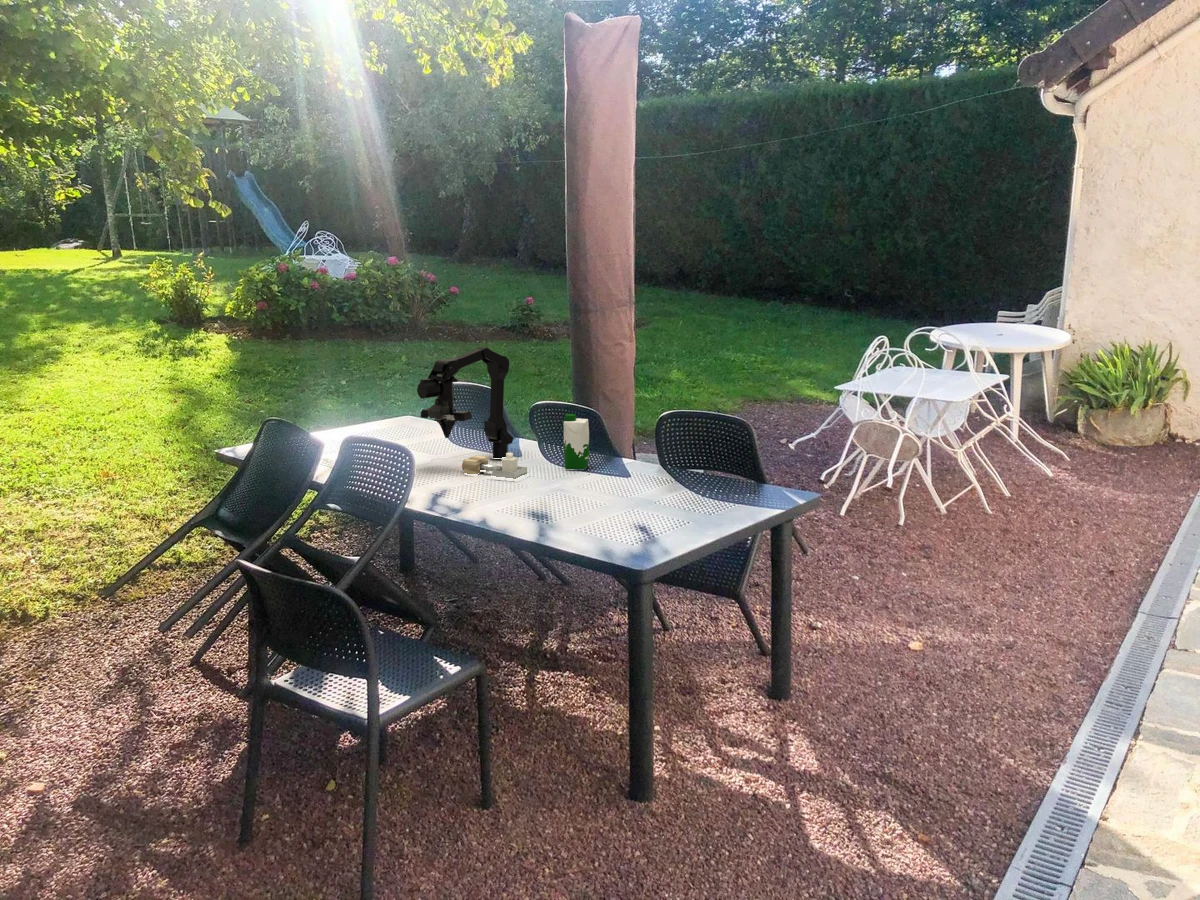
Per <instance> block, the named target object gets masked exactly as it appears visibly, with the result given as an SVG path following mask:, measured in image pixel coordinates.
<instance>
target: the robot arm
mask: <svg viewBox="0 0 1200 900" xmlns="http://www.w3.org/2000/svg"><path fill="white" fill-rule="evenodd" d="M479 361H481V362H483V363H484V364H485V365H486V368H487V372H488V375H489V378H490V401H489V402H490V409H489V417H488V418H487V420H484V422H483V424H484V427H483V431H484V434H485V436H486V438H487V440H488V442H489V443H492V456H493V458H502V457H506V453H509V445H511V444H512V443H513V440H514V437H513V436H512V435H511V434H510V433H509V432H508V426H507V425H508V424H507V422H506V420H505V418H504V402H505V401H504V399H505V397H504V396H505V395H504V394H505V393H504V392H505V379H506V377H507V376H508V374H509V367H510V359H509V358H508V357H507V356H506V355H501V354H499V353H497V352H495V351H493V350H491V349H490V348H488V347H485V346H478V347H476V348H475V349H472V350H469V351H467V352H465V353H462V354H460V355H457V356H455V357H452V358H441V359H438V360H436V361H434V364H433V367H432V369H431V371H430V373H429V375H428V377H427V378H422V379H420V380H419V383H418V384H417V388H416V393H417V395H418V397H419V398H420V399H423V400H424V399H428V398H429V399H430V398H435V400H434V404H432V405H431V406H430V407H427V408H424V409H421V411H420V418H421V419H428V418H429V419H433V421H434V422H436V423H437V424H439V426H440V428H441V431H442V432H443V435H444V438H445V439H448V438H449V437H450V436H451V432H452V430H453V428H454V426H455V424H456V423H457V422H466V421H469V420H473V414H472V412H471V411H470V410H459V411H457V408H455V405H454V404H455V403H454V401H456V397H455V396H454V383H457V382H459V380H458V379H457V378H456V377H455V376H454V375H456V374H457V373H458V372H459V371H460V370H462V368H465V367H467V366H469V365H473V364H474V363H477V362H479Z"/></svg>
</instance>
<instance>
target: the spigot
mask: <svg viewBox="0 0 1200 900" xmlns="http://www.w3.org/2000/svg"><path fill="white" fill-rule="evenodd" d="M501 466H502V471H511V472H514V471H516V470H518V466H519V465H518V457H514V453H513V452H509V451H508V453H506V458H504V459H502V460H501Z"/></svg>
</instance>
